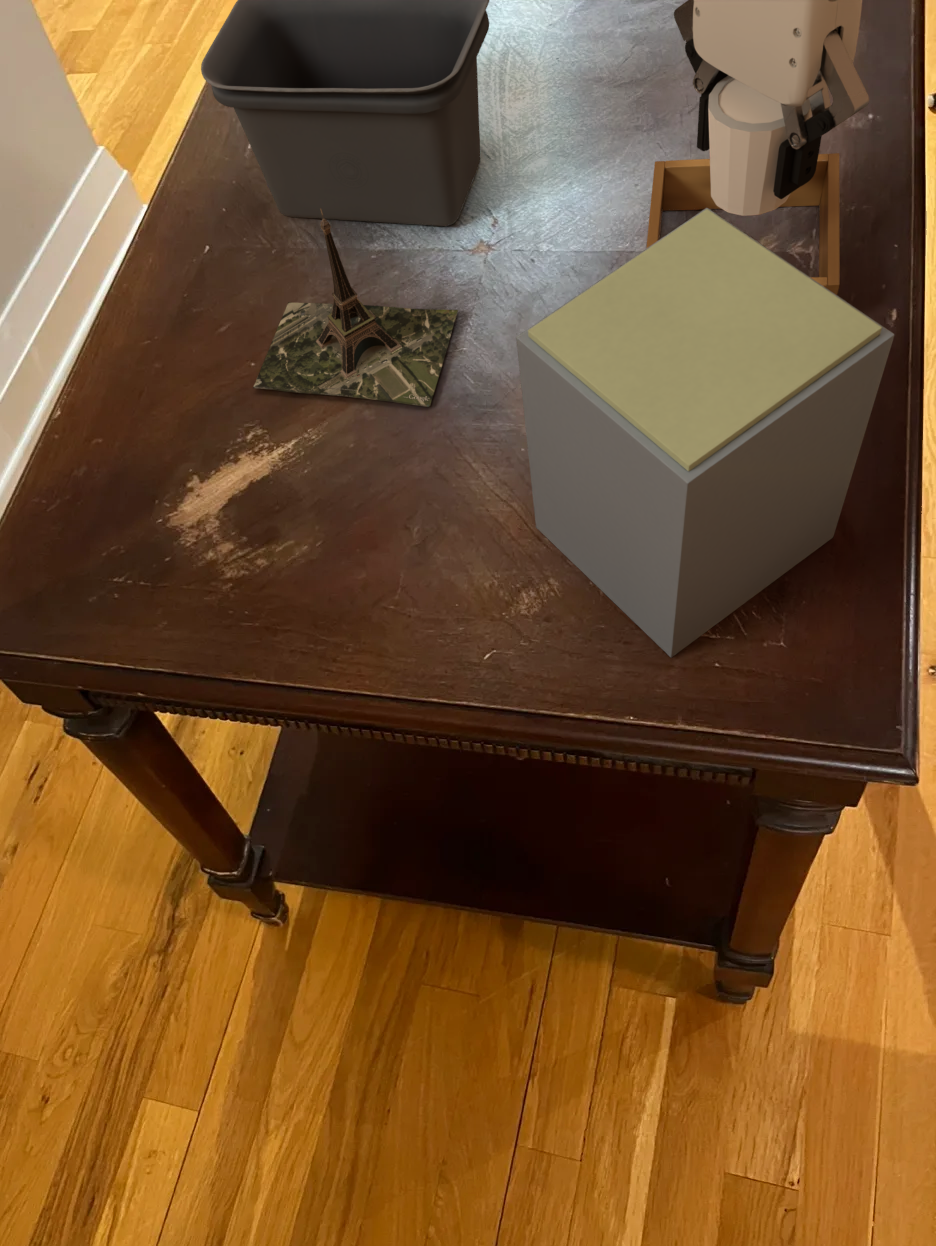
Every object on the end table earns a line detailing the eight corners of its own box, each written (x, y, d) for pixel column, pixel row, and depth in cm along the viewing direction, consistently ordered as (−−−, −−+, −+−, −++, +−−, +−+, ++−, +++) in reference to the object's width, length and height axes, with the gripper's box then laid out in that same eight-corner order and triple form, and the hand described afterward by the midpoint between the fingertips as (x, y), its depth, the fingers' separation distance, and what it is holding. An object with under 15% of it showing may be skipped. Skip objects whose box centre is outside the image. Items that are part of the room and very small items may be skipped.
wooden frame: (830, 198, 86) (839, 152, 82) (829, 327, 80) (839, 284, 77) (653, 204, 89) (654, 160, 85) (640, 329, 83) (642, 288, 80)
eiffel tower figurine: (251, 395, 87) (194, 260, 76) (288, 302, 91) (240, 160, 80) (430, 410, 83) (400, 270, 72) (461, 312, 87) (437, 164, 76)
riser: (833, 537, 72) (895, 334, 57) (671, 658, 71) (687, 483, 55) (688, 419, 79) (706, 207, 63) (535, 527, 77) (515, 336, 61)
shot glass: (683, 183, 80) (687, 92, 74) (765, 143, 80) (777, 49, 74) (736, 235, 76) (745, 144, 70) (821, 193, 77) (838, 99, 70)
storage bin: (241, 237, 96) (185, 83, 83) (300, 119, 102) (255, -42, 89) (473, 255, 90) (450, 92, 77) (521, 129, 96) (507, -43, 83)
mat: (880, 334, 57) (882, 327, 56) (688, 472, 55) (689, 465, 55) (706, 215, 63) (707, 208, 62) (528, 336, 61) (527, 330, 60)
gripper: (961, -107, 57) (890, 191, 73) (727, -199, 65) (708, 86, 81) (854, -37, 56) (805, 250, 72) (630, -140, 64) (629, 138, 80)
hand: (754, 161), depth 76 cm, fingers closed on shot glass, 6 cm apart
